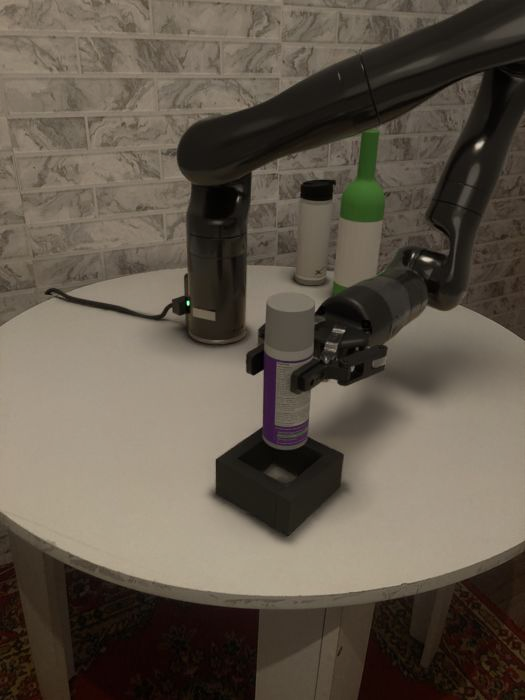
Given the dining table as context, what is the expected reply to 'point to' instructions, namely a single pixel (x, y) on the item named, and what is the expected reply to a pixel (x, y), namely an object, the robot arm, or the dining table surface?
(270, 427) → the container
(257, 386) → the dining table surface
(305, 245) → the travel mug
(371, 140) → the wine bottle
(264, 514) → the black square frame
